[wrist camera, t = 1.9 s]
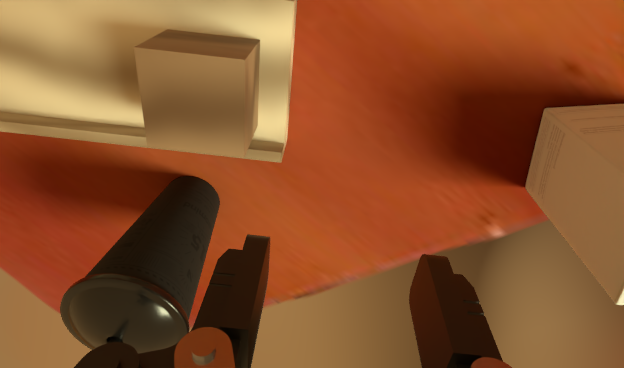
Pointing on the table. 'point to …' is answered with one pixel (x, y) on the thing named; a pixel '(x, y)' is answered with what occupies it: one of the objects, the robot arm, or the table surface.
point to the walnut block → (199, 91)
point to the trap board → (127, 64)
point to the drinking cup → (147, 274)
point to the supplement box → (584, 185)
